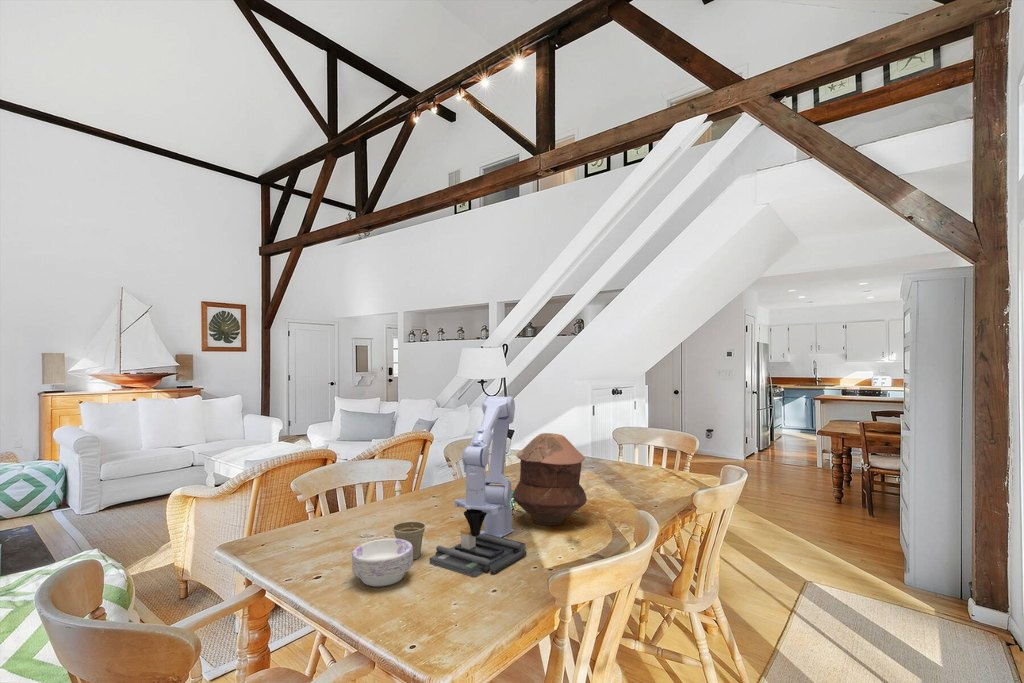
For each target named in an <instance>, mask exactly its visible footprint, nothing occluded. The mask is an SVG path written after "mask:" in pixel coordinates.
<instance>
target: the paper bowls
mask: <svg viewBox="0 0 1024 683" xmlns="http://www.w3.org/2000/svg"><path fill="white" fill-rule="evenodd" d="M413 564H414V559H413V546H412V544H411V543H410V542H408V541H406V540H402V539H396V538H380V539H375V540H374V539H373V540H371V541H367V542H364V543H362V544H360V545H357V546H356V547H355V548H354V549H353V550H352V552H351V568H352V569H351V572H352V573H353V575H354V576H356V577H357V578H360V580H361V581H362V582H363V584H365V585H367V586H370V587H385V586H391V585H394V584H396V583H398V582H399V581H401V580H402V578H403V577H404V576H405V573H406V572H408V571H409V570H410V569H411V568H412V567H413Z"/></svg>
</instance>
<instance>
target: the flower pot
mask: <svg viewBox="0 0 1024 683" xmlns="http://www.w3.org/2000/svg"><path fill="white" fill-rule="evenodd" d="M426 527H427V525H426V523H424V522H422V521H414V520H413V521H403V522H399V523H396V524H394V525H393V526H392V528H391V529H392V531H393V534H394V539H402V540H406V541H408V542H410V543H411V544H412V546H413V560H415V559H416V560H418V559H419V558H420V557H421V552H422V543H423V536H424V533H425V529H426Z"/></svg>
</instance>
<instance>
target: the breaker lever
mask: <svg viewBox="0 0 1024 683" xmlns="http://www.w3.org/2000/svg"><path fill="white" fill-rule="evenodd" d="M460 543H461V547H462V548H465V549H471V548H474V547H476V537H474V536H472V534H471V530H470V527H469V526H467V527H465V528H462V529H460Z"/></svg>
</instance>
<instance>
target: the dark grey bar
mask: <svg viewBox="0 0 1024 683" xmlns="http://www.w3.org/2000/svg"><path fill="white" fill-rule="evenodd" d="M476 538H477V539H481V540H485V541H488V542H492V543H496V544H500V545H504V546H508V547H512V548H515V549H516V554H517V553H518V552H520V551H521V544H520V543H516V542H512V541H508V540H504V539H500V538H496V537H492V536H488V535H484V534H480V535H478V536H476Z"/></svg>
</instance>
